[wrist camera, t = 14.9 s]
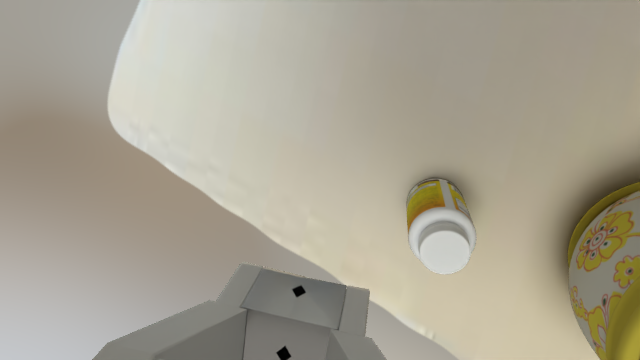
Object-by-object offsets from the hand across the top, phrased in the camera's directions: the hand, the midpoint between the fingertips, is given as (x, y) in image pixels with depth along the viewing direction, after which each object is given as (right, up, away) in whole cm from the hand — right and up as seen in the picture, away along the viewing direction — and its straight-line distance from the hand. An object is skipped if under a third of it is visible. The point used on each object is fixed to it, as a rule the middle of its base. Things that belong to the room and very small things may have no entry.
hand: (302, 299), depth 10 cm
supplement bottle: (+12, +1, +34) cm, 36 cm away
